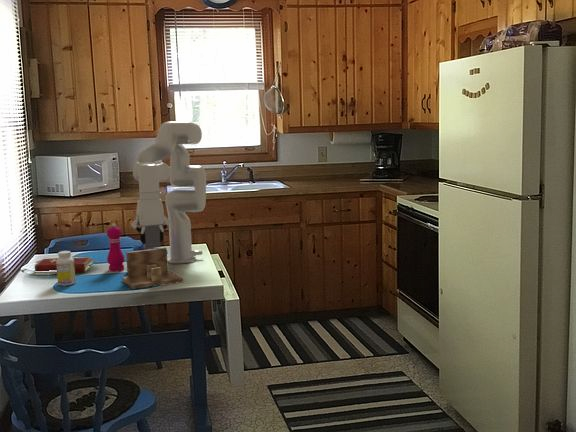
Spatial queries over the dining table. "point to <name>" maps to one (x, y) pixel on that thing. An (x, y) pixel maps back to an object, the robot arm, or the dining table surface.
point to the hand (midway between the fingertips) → (151, 242)
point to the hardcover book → (50, 264)
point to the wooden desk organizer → (149, 269)
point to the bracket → (152, 237)
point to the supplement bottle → (65, 269)
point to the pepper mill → (115, 249)
